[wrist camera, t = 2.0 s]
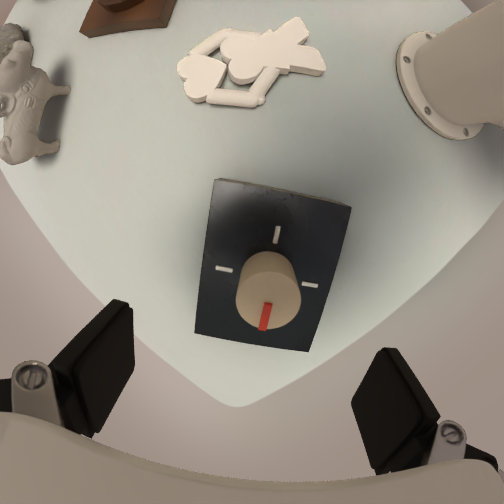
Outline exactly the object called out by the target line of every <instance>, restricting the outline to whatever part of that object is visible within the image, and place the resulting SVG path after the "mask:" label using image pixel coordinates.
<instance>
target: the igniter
mask: <svg viewBox="0 0 504 504" xmlns="http://www.w3.org/2000/svg"><path fill="white" fill-rule="evenodd" d="M175 3H176V0H93V2H92V4H91V6H90V8H89V10H88V12H87V14H86V17H85V19H84V21H83V24H82V26H81V28H80V31H79V32H80V33H82V34H83V35H85V36H87V37H88V38H91V37H95V36H100V35H105V34H111V33H117V32H124V31H131V30H139V29H149V28H163V27H167V24H168V21H169V19H170V16H171V13H172V11H173V8H174V5H175Z"/></svg>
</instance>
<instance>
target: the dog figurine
mask: <svg viewBox="0 0 504 504" xmlns="http://www.w3.org/2000/svg"><path fill="white" fill-rule="evenodd" d="M32 54H33V47H32V46H31V44H30V43H29V42H26V41H22V40H19V41H16V42H15V43H14V45H13V48H12V50H11V52H10V53H9V54H8V55H7V56H6V57H5V58H4V59H3V60H2V62H1V64H0V117H3V116H4V136H3V138H2V140H1V142H0V157H1V159H3V160H4V161H5V162H6V163H7V164H10V165H16V164H20V163H23V162H26V161H28V160H29V159H31V158H32V157H34V156H35V157H40V156H41V155H43V154H48V153H54V152H57V151H58V150H59V147H60V141H58V140H55V141H54V142H53V143H44V142H42V141H40V140H39V139H38V136H37V128H38V126H39V123H40V120H41V117H42V114H43V111H44V108H45V104H46V102H47V101H48V100H49V99H50V97H53V96H56V95H68V94H69V93H70V86H69V85H65V86H63V87H61V86H57V85H54V84H52V83H51V82H50V80H49V78H48V76H47V74H46V72H45V71H43V70H42V69H40V68H36V67H34V66H30V62H31V59H32ZM1 104H2V108H1Z"/></svg>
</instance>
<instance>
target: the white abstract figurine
mask: <svg viewBox="0 0 504 504" xmlns="http://www.w3.org/2000/svg"><path fill="white" fill-rule="evenodd" d="M308 35H309V32H308V30H307V28H306V26H305V25H304V23H303V21H302V20H301V18H299V17H294V18H292V19H290V20H289V21H287V22H286V23H284V24H283V25H281V26H280V28H279V29H277V30H276V31H274V32H273V31H272V30H271V29H269V30H268V31H266V32H265V33H263V34H262V33H259V32H251V31H239V30H234V29H233V28H227V29H221V30H219V31H217V32H215V33H214V34H212V35H211V36H210V37H208V38H207V39H205V40H204V41H202V42H201V43H200V44H198V45H197V46H195V47H194V48H193V49H191V50H190V51H189V52H188V55H189V56H187V57H185V58H183V59H181V60H180V61H179V63H178V64H177V72H178V74H179V76H180V78H181V79H182V81H184V82H185V83H184V91H185V92H186V94H187V96H188V98H189V99H190V100H191V101H193V102H196V103H199V102H203V101H206V102H207V103H210V104H221V105H232V106H242V107H251V108H253V107H256V106H257V105H262V104H263V103H264V102H265V96H264V95H265V94H266V92H267V91H268V90H269V88H270V87H271V85H272V84H273V82H274V81H275V80H276V78H277V77H278V75H279V74H286V75H287V74H288V72H289V71H291V72H297V73H304V74H309V75H313V76H320V75H321V74H322V73H323V72H324V71H325V70H326V66H325V63H324V61H323V59H322V57H321V55H320V53H319V51H318V50H317V49H315V48H312V47H308V46H303V45H302V44H303V43H304V42H305V41H306V39H307V37H308ZM219 47H220V51H221V57H222V60H223V61H224V62H225V63H227V64H229V66H228V71H229V77H230V78H231V80H232V81H233V82H234V83H236V84H240V85H244V84H249V83H251V82H254V81H255V82H254V83H253V85H252V86H251V88H250V89H249V91H240V90H230V89H219V88H220V86H221V84H222V82H223V80H224V77H225V75H226V72H227V64H225V63H223V62H221V61H218V60H216V59H214V58H211V57H208V56H207V55H209V54H210V53H212V52H213V51H214V50H216V49H217V48H219Z"/></svg>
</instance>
